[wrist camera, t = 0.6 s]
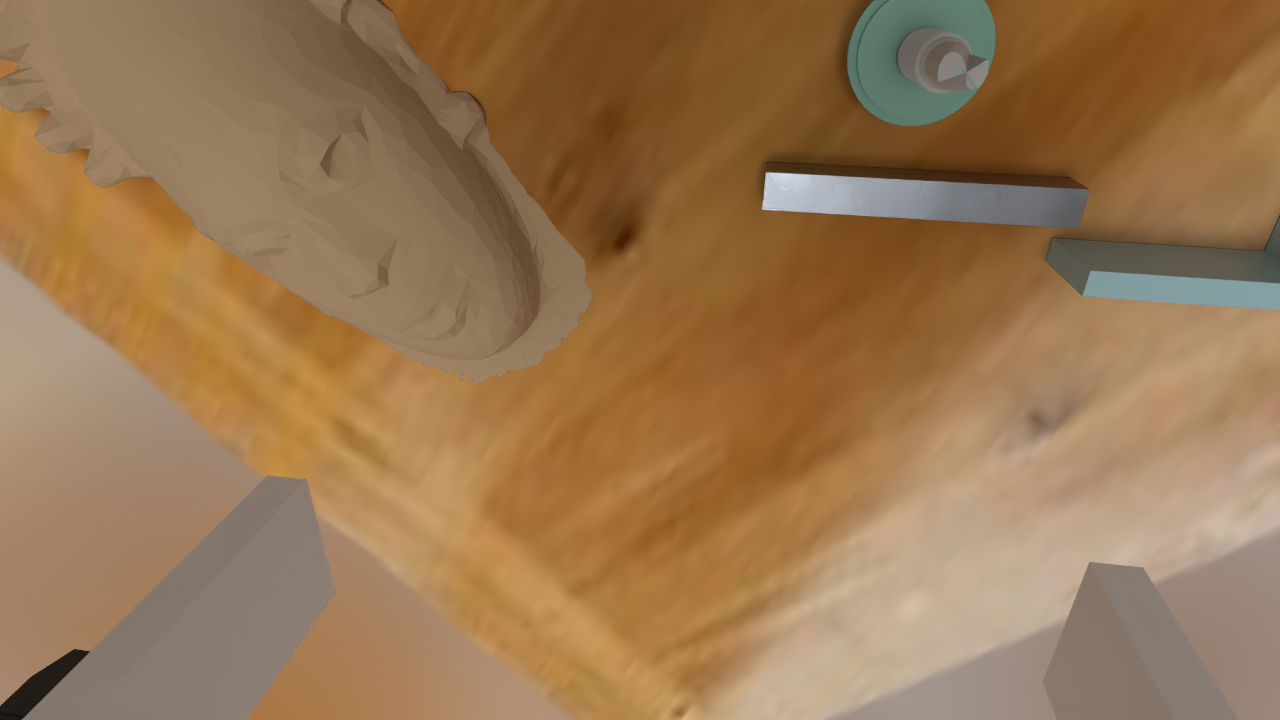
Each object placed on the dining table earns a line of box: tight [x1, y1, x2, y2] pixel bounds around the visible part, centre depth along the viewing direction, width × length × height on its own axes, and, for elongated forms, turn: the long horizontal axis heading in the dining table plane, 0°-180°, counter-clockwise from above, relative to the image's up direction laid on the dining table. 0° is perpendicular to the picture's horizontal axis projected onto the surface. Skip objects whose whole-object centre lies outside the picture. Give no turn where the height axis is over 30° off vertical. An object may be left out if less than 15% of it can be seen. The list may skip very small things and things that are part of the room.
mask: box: [0, 0, 592, 383], centre depth 31 cm, size 15×7×30 cm
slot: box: [762, 162, 1090, 229], centre depth 27 cm, size 12×12×2 cm
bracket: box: [1046, 217, 1280, 310], centre depth 24 cm, size 16×9×4 cm, turn 179°
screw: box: [847, 0, 996, 126], centre depth 24 cm, size 9×5×5 cm
